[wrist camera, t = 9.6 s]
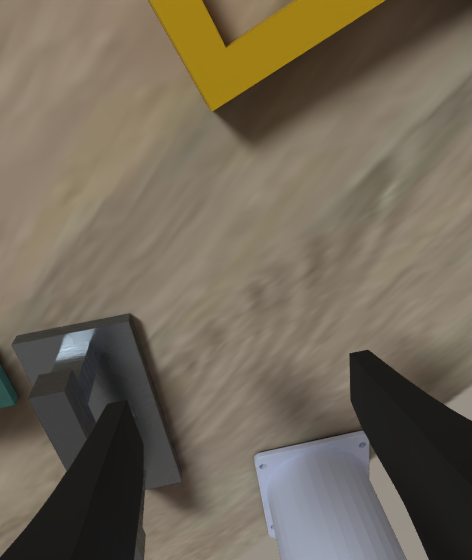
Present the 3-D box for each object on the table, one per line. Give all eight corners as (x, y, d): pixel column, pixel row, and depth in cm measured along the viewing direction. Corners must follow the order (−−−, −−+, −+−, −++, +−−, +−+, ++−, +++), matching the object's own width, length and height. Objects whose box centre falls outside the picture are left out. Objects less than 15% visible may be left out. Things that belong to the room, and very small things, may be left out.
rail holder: (181, 471, 28) (183, 552, 23) (94, 490, 28) (77, 576, 23) (129, 313, 22) (117, 380, 17) (16, 335, 22) (-27, 410, 17)
